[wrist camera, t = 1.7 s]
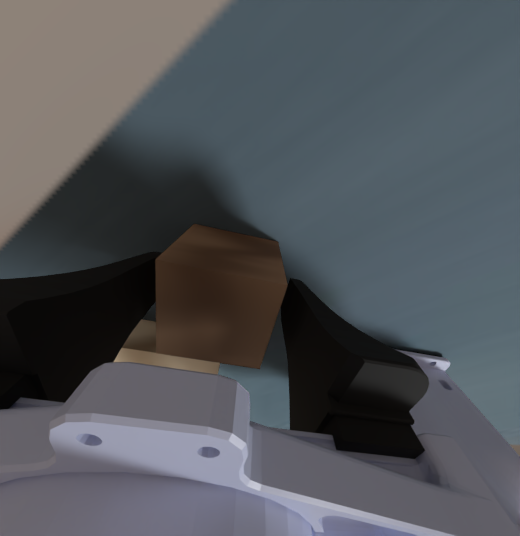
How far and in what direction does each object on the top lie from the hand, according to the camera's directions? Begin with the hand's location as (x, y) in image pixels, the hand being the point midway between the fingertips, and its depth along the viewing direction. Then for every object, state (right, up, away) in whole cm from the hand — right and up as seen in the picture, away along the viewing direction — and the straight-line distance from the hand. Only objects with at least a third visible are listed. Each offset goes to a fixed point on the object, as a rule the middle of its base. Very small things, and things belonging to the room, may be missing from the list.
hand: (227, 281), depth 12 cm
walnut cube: (0, +1, +1) cm, 2 cm away
